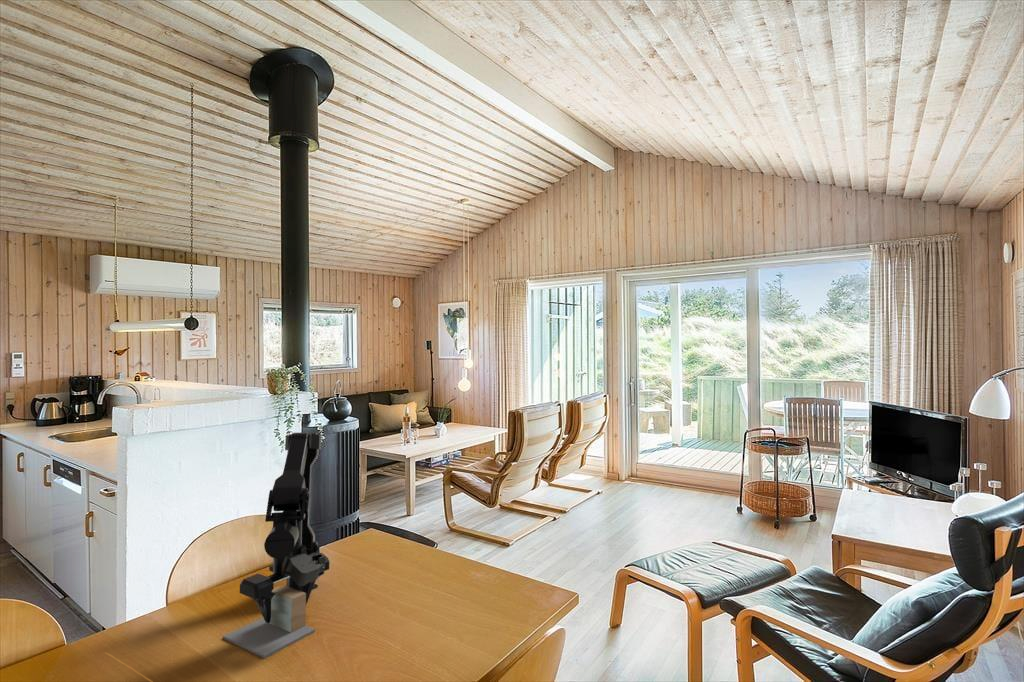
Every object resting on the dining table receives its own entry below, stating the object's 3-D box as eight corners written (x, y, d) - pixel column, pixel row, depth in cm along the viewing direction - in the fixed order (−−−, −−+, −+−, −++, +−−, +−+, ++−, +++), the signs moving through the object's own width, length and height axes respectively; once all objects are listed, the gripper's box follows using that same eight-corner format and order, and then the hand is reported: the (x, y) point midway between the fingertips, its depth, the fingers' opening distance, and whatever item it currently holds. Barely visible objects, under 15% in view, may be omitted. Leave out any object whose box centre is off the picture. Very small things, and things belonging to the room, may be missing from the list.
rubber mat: (222, 638, 112) (222, 635, 112) (274, 614, 122) (274, 612, 122) (264, 658, 105) (264, 655, 105) (315, 631, 115) (315, 629, 115)
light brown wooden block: (267, 623, 117) (267, 590, 117) (282, 616, 120) (282, 584, 121) (290, 633, 113) (291, 599, 113) (305, 625, 116) (306, 593, 116)
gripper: (272, 563, 105) (270, 643, 105) (346, 536, 121) (345, 606, 121) (238, 552, 111) (237, 628, 110) (314, 527, 127) (312, 594, 126)
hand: (286, 613), depth 117 cm, fingers open, 9 cm apart
